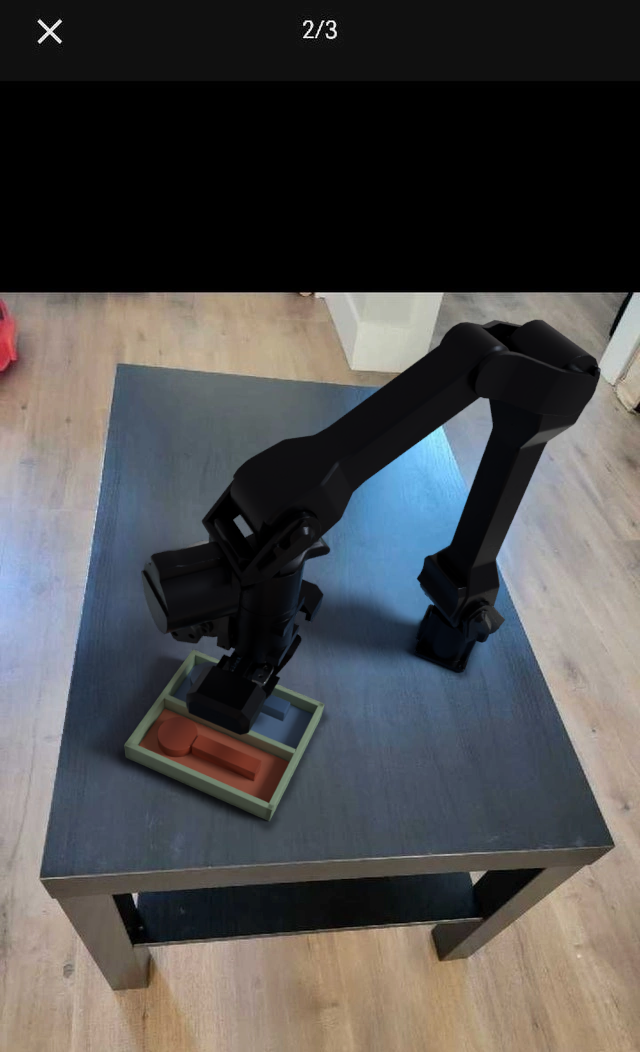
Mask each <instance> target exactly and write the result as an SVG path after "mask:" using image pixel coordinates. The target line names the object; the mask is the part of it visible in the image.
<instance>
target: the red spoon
mask: <svg viewBox="0 0 640 1052" xmlns="http://www.w3.org/2000/svg"><path fill="white" fill-rule="evenodd" d="M157 735H158V746H159V748H160V750H161V751H162V752H163V753H165V754H166V755H168V756H171V757H183V756H186V755H188V754H190V753H191V752H192V754H193V755H195V756H197V757H199V758H202V759H204V760H206V761H209V762H211V763H213V764H215V765H218V766H220V767H222V768H225V769H227V770H229V771H232V772H234V773H236V774H238V775H241V776H243V777H245V778H248V779H250V780H252V781H254V780H255V778H256V777H257V775H258V773H259V771H260V769H261V763H262V761H261V760H258V759H256V758H254V757H251V756H249V755H247V754H244V753H242V752H240V751H238V750H235V749H233V748H231V747H228V746H226V745H224V744H221V743H219V742H217V741H214V740H212V739H210V738H207V737H205V736H203V735H200V734H199V735H198V730H197V727H196V726H195V724H194V723H193V722H192V721H190V720H189V719H187V718H183V717H174V718H170V719H168V720H166V721H164V722H163V723H162V724H161V725H160V727H159V729H158V734H157Z"/></svg>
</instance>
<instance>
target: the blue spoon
mask: <svg viewBox="0 0 640 1052" xmlns="http://www.w3.org/2000/svg"><path fill="white" fill-rule="evenodd" d="M217 664H218V663H215V662H203V663H201V664H198V665H197V666H196V667H194V669H193V670H192V672H191V676H190V686H192V685H193V684H194V682H195V681H196V679H197V678H198V676H199V675H200V673H201V672H202V670H203V669H204V668H205V667H209V666H213V665H214V666H216V665H217ZM289 708H290V702H288V701H286V700H283V699H281V698H279V697H276V696H274V695H270V697H269V698H268V699H266V700H265V702H264V705H263V707H262V710H261V713H264V714H266V715H268V716H271V717H273V718H275V719H278V720H280V721H284V719H285V717H286V715H287V713H288V712H289Z"/></svg>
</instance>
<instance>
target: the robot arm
mask: <svg viewBox="0 0 640 1052" xmlns="http://www.w3.org/2000/svg"><path fill="white" fill-rule="evenodd" d="M601 372H602V369H601V367H599V363H598V361H597V358H596V357H595V356H593V355H592V354H591V353H589V352H588V351H586V350H585V349H584V348H582V347H581V346H580V345H578V344H577V343H576V342H574V341H572V340H571V339H570V338H568V337H567V336H565V334H563V333H562V332H560V331H559V330H557V329H556V328H554V327H553V325H551V324H549V323H548V322H547V321H545V320H543V319H532V320H530V321H527V322H524V323H523V324H517V323H512V322H509V321H508V322H507V321H503V320H498V319H493V320H491V321H489V322H485V323H484V324H479V323H476V322H475V323H474V322H469V321H462V322H458V323H457V324H455V325H453V326H452V327H450V328H449V330H447V331H446V332H445V334H444V336H443V337H442V339H441V340H440V341H439V344H438V345H437V346H436V347H435V348H433V349H432V350H431V351H429V352H427V353H426V354H425V355H424V356H422V357H421V358H419V359H418V360H417V361H415V362H414V363H413V364H411V365H410V366H409V367H408V368H407V367H406V369H405V370H403V371H402V372H400V373H399V374H398V375H396V376H395V377H394V378H392V379H391V380H390V381H389V382H387V383H386V384H384V385H383V386H382V387H380V388H379V389H377V390H376V391H375V392H373V393H372V394H371V395H369V396H368V397H366V398H365V399H364V400H363V401H362V402H360V403H358V404H357V405H356V406H354V407H353V408H352V409H350V410H349V411H348V412H346V413H345V414H344V415H343V416H341V417H339V418H338V419H337V420H335V421H334V422H333V423H331V424H330V425H329V426H327V427H326V428H323V429H322V430H320V431H319V432H316V433H315V434H311V435H304V436H298V437H291V438H284V439H282V440H280V441H278V442H276V443H275V444H273V445H271V446H270V447H268V448H266V449H264V450H263V451H261V452H258V453H257V454H255V455H253V456H251V457H250V458H248V459H247V460H245V462H243V463H242V464H241V465H240V466H239V467H238V468H237V470H236V471H235V472H234V474H232V481H231V482H230V483H229V484H228V486H227V487H226V488H225V490H224V491H223V492H222V493H221V494H220V496H219V498H218V499H217V500H216V501H215V503H214V504H213V505H212V506H211V507H210V509H209V510H208V511H207V513H206V514H205V516H204V517H203V518H202V520H201V523H202V526H203V527H204V529H205V530H206V532H207V533H208V540H209V543H206V544H201V545H197V546H193V547H189V548H186V547H184V548H180V549H175V550H164V551H160V552H155V553H152V554H151V555H150V562H147V563H145V564H144V566H143V570H141V573H140V574H141V575H140V576H141V583H142V588H143V589H142V590H143V593H144V597H145V601H146V604H147V607H148V610H149V613H150V615H151V617H152V619H153V622H154V624H155V626H156V628H157V629H158V631H159V632H160V633H161V634H162V635H166V634H170V635H171V637H172V639H174V640H175V641H176V642H181V643H187V644H193V645H194V644H195V645H197V644H198V643H199V641H201V639H202V638H203V637H207V638H216V647H218V648H220V649H223V650H225V651H230V650H231V649H234V650H233V651H232V652H231V654H230V655H227V654H223V655H222V656H221V657H220V659H219V660H220V661H219V662H218V664H217V665H216V666H214V665H213V666H209V667H205V668H204V669H203V670H202V672H201V673H200V675H199V676H198V678H197V679H196V681H195V682H194V684H193V685H192V686H191V688H190V689H189V691H188V692H187V694H186V707H187V710H188V712H189V713H190V714H192V715H194V716H197V717H199V718H201V719H204V720H206V721H208V722H211V723H213V724H215V725H218V726H220V727H222V728H225V729H227V730H229V731H232V732H234V733H236V734H239V735H243V734H246V733H249V731H250V730H251V728H252V726H253V724H254V723H255V721H256V719H257V717H258V716H259V714H260V712H261V710H262V707H263V705H264V702H265V700H266V699H268V698H269V697H270V695H271V694H272V692H273V690H274V688H275V687H276V685H277V684H278V683H279V681H280V680H281V677H280V676H279V675H278V674H280V672H281V671H282V670H283V668H285V666H286V665H287V664H288V663H289V662H290V660H292V658H293V657H294V655H295V653H296V652H297V650H298V648H299V647H300V645H301V643H302V639H303V638H302V636H301V635H300V634H298V633H299V629H300V625H299V624H297V623H295V621H296V617H297V615H298V613H299V612H301V613H303V614H305V617H304V620H305V621H307V622H309V623H313V621H314V619H315V618H316V616H317V615H318V612H319V611H320V609H321V607H322V604H323V599H324V593H323V591H322V590H321V589H320V587H319V586H318V584H316V583H313V582H310V581H308V580H306V579H303V576H304V572H305V566H306V562H307V561H309V560H312V559H316V558H319V557H323V556H326V555H329V554H330V553H331V548H330V546H329V545H328V543H327V541H325V540H324V538H323V536H325V534H326V533H327V532H329V531H330V530H331V529H332V528H333V527H334V526H335V525H337V523H339V522H340V521H341V519H342V518H343V516H344V514H345V511H346V509H347V507H348V505H349V503H350V501H351V498H352V496H353V494H354V492H356V490H358V489H359V488H360V487H361V486H362V485H363V484H364V483H365V482H367V481H368V480H369V479H370V478H372V477H373V476H375V475H376V474H378V473H379V472H381V471H382V470H384V469H385V468H386V467H387V466H388V465H390V464H392V463H393V462H394V461H396V460H397V459H398V458H400V457H401V456H402V455H404V454H405V453H406V452H407V451H409V450H411V449H412V448H413V447H414V446H416V445H418V443H420V442H421V441H423V440H424V439H426V438H427V437H428V436H429V435H431V434H433V433H434V432H435V431H436V430H437V429H439V428H440V427H442V426H443V425H445V424H446V423H447V422H448V421H450V420H452V419H453V418H454V417H455V416H457V415H458V414H459V413H461V412H462V411H464V410H465V409H467V408H468V407H469V406H471V405H472V404H473V403H475V402H476V401H477V400H479V399H480V398H482V399H486V400H488V402H489V403H488V404H489V409H490V416H491V423H492V427H491V431H490V433H489V436H488V439H487V441H486V444H485V447H484V450H483V453H482V456H481V459H480V462H479V464H478V467H477V470H476V473H475V475H474V478H473V481H472V484H471V486H470V489H469V492H468V494H467V498H466V500H465V504H464V506H463V508H462V512H461V514H460V517H459V519H458V523H457V524H456V528H455V531H454V533H453V536H452V539H451V542H450V543H449V545H447V546H446V547H444V548H442V549H440V550H438V551H437V552H435V553H432V554H428V555H427V556H425V557H424V559H423V564H422V568H421V570H420V572H419V574H418V576H417V577H416V580H417V581H418V583H419V587H420V589H421V590H422V592H423V593H424V595H425V596H426V597H427V598H428V599H429V600H430V601H431V603H432V604H431V603H429V604H428V605H427V608H426V610H425V613H424V615H423V618H422V620H421V622H420V625H419V628H418V631H417V633H416V635H415V640H416V641H417V642H416V645H415V648H414V650H413V653H414V655H416V656H417V657H420V658H423V659H425V660H428V661H431V662H432V663H435V664H438V665H440V666H442V667H446V668H447V669H450V670H453V671H455V672H458V673H464V672H465V670H466V668H467V666H468V662H469V659H470V656H471V654H472V651H473V649H474V647H475V645H476V643H477V642H478V643H483V644H484V643H486V642H487V641H488V638H489V636H490V635H492V634H494V633H496V632H497V631H498V630H499V629H500V628H501V626H502V625H503V623H505V621H506V619H505V617H504V616H503V615H502V614H501V613H500V612H499V611H498V610H497V608H496V607H495V604H496V601H497V598H498V594H499V590H500V587H501V583H500V575H499V569H498V561H497V557H498V555H499V553H500V551H501V548H502V546H503V544H504V542H505V539H506V537H507V535H508V533H509V530H510V528H511V526H512V523H513V521H514V519H515V517H516V514H517V512H518V509H519V507H520V505H521V503H522V501H523V498H524V496H525V494H526V491H527V489H528V487H529V484H530V482H531V480H532V477H533V475H534V473H535V470H536V468H537V466H538V464H539V462H540V459H541V458H542V455H543V453H544V450H545V449H546V446H547V444H548V443H549V441H551V440H552V439H554V438H556V437H557V436H559V435H560V434H562V433H564V432H565V431H567V430H568V429H570V428H571V427H573V426H574V425H575V424H576V423H577V421H578V419H579V418H580V416H581V415H582V413H583V411H584V410H585V408H586V407H587V405H588V404H589V402H590V401H591V400H592V398H593V396H594V395H595V393H596V390H597V387H598V384H599V382H600V378H601ZM239 516H240V517H241V518H242V520H243V521H244V523H245V525H246V526H247V527H248V529H249V530H250V532H251V534H248V535H247V536H245V535H244V533H243V532H242V530H241V529H240V528H239V526H238V524H237V523H236V522H235V519H236V518H238V517H239Z"/></svg>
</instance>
